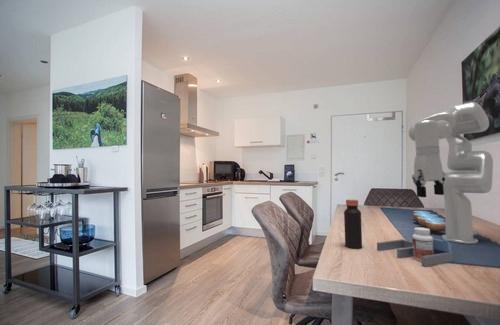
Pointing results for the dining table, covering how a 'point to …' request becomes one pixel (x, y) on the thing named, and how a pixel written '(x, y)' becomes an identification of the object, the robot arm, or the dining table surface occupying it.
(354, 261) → the dining table surface
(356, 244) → the vinegar
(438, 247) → the grey blue bar frame
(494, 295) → the dining table surface
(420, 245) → the pill bottle
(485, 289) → the dining table surface
